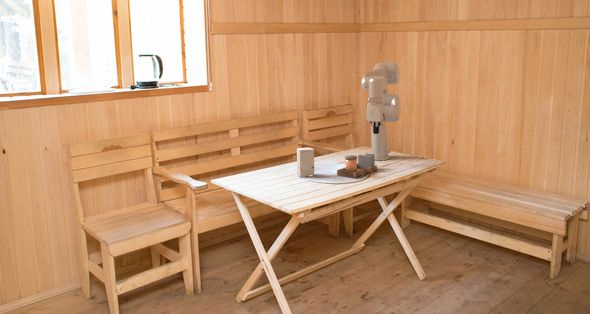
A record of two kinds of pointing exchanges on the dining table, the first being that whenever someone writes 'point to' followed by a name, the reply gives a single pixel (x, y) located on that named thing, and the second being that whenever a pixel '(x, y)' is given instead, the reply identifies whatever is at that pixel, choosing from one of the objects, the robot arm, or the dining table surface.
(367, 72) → the robot arm
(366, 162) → the pusher
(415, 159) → the dining table surface
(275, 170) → the dining table surface
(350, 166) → the jar
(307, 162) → the skincare box
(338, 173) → the brown wooden tray
